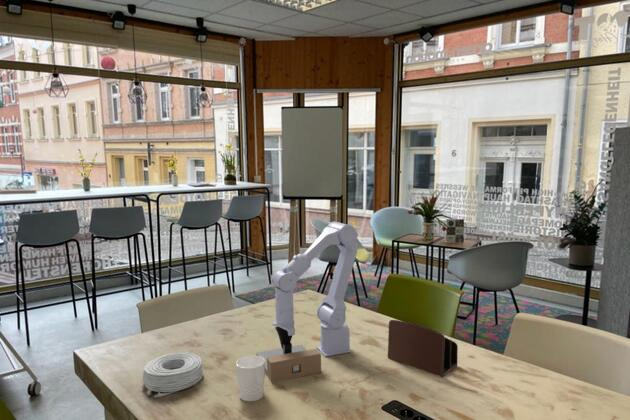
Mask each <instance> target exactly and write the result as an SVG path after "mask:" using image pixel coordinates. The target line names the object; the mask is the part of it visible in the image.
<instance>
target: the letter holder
mask: <svg viewBox="0 0 630 420" xmlns="http://www.w3.org/2000/svg"><path fill="white" fill-rule="evenodd" d="M387 338H388V339H387V343H388V345H387V358H388V359H390V360H393V361H396V362H399V363H400V364H401V363H402V364H404V365H407V366H409V367H412V368H415V369H418V370H421V371H422V372H423V371H424V372H427V373H429V374H432V375H435V376H438V377H439V378H440V377H441V378H444V377H445V376H446V375H448V374H449V373H451V372H452V371H453V370H455V368H457V367H458V358H459V357H458V353H459V352H458V349H459V346H458V344H457V342H455V341H454V340H451V339H449V338H448V337H446V336H445V335H444V334H442V333H441V332H439V331H436V330H434V329H431V328H428V327H426V326H423V325H421V324H418V323H414V322H409V321H403V320H399V319H398V320H397V319H390V320H389V322H388V337H387Z"/></svg>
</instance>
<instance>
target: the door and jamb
mask: <svg viewBox="0 0 630 420" xmlns="http://www.w3.org/2000/svg"><path fill="white" fill-rule="evenodd" d="M255 355H256V356H261V357H263V358H264V360H265V375H266V376H267V377H268V379H269V381H270V382H271V383H273V382H277V381H283V380H288V379H294V378H299V377H303V376H309V375H313V374H319V373H322V353H321V352H320V350H319V349H318V348H311V349H306V347H304V346H303V344H299V345H292V353H288V354H283V349H282V347H281V348H274V349H271V350H265V351H258V352H256V354H255ZM294 365H299V371H295V372H293V371H292V366H294Z"/></svg>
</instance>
